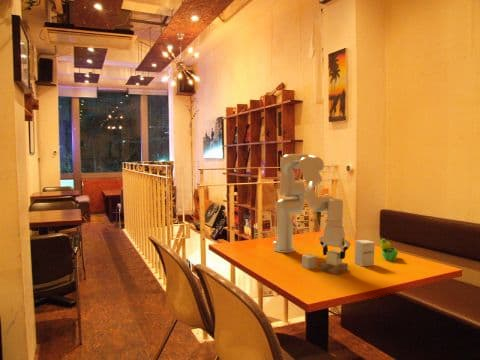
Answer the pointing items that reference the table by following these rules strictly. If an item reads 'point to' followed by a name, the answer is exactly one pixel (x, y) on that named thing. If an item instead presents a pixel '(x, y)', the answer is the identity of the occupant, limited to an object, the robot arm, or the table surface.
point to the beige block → (333, 258)
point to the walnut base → (333, 268)
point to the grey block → (309, 261)
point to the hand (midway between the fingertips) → (333, 256)
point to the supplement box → (364, 252)
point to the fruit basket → (388, 250)
